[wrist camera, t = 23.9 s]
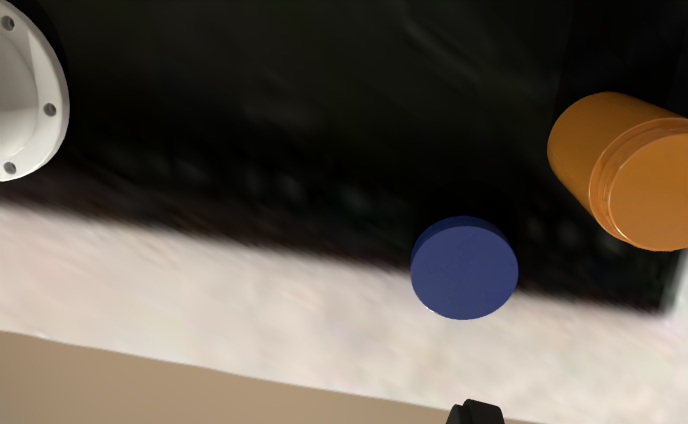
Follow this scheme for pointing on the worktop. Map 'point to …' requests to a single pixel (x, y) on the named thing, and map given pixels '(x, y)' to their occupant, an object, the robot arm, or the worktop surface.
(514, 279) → the lid
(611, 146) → the jar
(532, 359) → the worktop surface
